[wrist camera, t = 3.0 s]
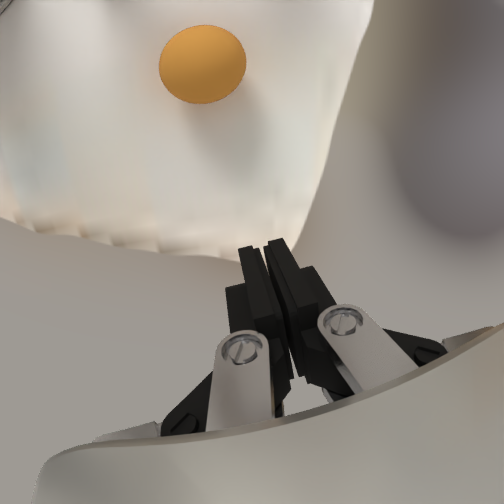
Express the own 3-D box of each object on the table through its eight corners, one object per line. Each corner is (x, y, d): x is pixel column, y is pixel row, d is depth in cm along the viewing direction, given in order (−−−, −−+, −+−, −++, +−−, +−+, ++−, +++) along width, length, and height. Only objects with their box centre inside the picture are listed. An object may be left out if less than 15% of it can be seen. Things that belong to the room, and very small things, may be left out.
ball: (174, 113, 20) (163, 113, 15) (158, 48, 18) (144, 28, 12) (247, 95, 21) (261, 90, 15) (232, 30, 18) (241, 6, 13)
